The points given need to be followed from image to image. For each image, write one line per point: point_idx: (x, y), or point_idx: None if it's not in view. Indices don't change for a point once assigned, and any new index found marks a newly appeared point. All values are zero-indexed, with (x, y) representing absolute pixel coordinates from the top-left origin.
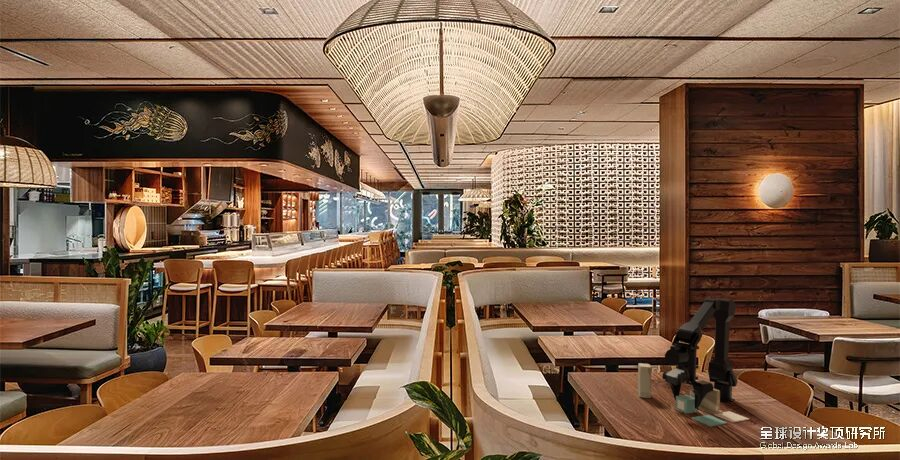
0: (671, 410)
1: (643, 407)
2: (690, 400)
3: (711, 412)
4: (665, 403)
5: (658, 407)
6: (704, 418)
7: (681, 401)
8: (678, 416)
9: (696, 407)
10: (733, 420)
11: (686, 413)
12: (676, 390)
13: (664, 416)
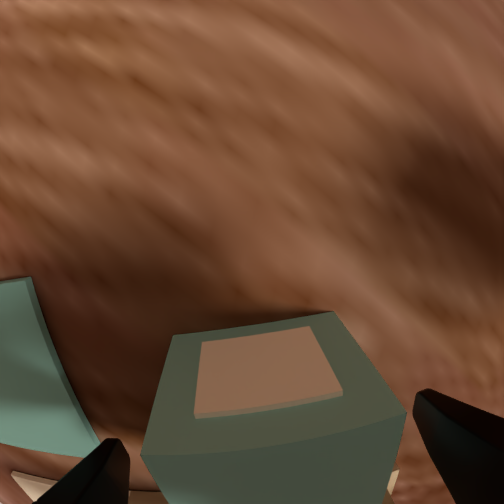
0: (311, 233)
1: (440, 11)
2: (171, 493)
3: (146, 500)
4: (477, 311)
5: (428, 151)
6: (15, 376)
7: (254, 401)
8: (100, 174)
9: (104, 449)
10: (24, 485)
11: (172, 338)
12: (482, 478)
13: (144, 11)
